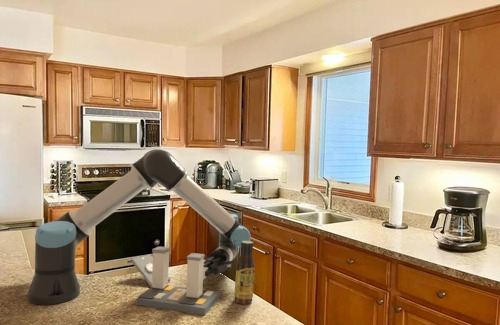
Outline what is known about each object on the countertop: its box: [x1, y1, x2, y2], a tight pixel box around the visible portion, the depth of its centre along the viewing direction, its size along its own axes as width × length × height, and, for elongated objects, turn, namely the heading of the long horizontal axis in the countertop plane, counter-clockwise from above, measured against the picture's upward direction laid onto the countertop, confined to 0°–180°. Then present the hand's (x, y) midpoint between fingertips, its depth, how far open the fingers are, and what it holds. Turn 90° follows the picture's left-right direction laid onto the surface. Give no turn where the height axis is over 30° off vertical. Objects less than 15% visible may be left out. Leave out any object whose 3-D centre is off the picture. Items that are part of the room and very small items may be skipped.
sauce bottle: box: [233, 240, 256, 305], centre depth 123 cm, size 7×6×20 cm
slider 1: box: [151, 246, 171, 289], centre depth 127 cm, size 4×4×13 cm
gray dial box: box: [130, 254, 171, 288], centre depth 140 cm, size 8×6×14 cm
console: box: [135, 284, 221, 316], centre depth 121 cm, size 23×14×2 cm, turn 77°
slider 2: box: [186, 252, 206, 298], centre depth 121 cm, size 4×4×13 cm
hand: (199, 276), depth 123 cm, fingers closed
